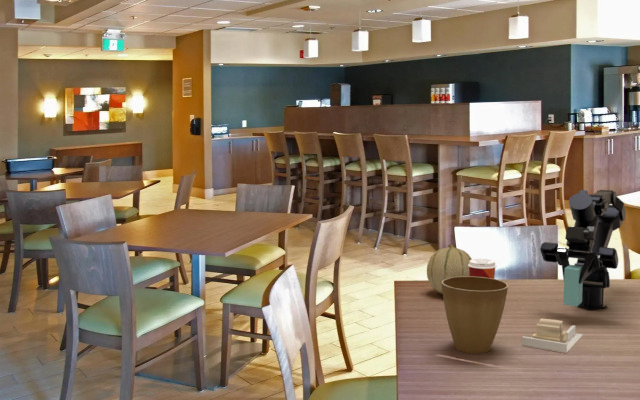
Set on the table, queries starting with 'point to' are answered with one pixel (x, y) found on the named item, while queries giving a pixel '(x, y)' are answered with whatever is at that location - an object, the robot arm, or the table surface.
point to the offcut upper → (549, 328)
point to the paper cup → (482, 268)
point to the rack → (552, 345)
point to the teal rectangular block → (572, 285)
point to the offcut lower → (560, 339)
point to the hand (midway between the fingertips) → (572, 281)
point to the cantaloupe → (447, 266)
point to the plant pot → (474, 311)
